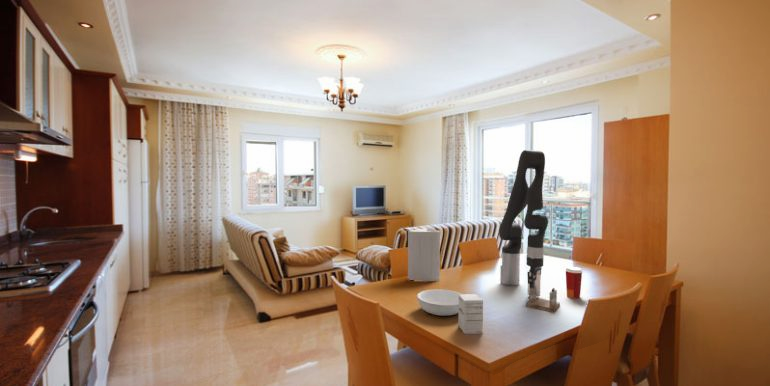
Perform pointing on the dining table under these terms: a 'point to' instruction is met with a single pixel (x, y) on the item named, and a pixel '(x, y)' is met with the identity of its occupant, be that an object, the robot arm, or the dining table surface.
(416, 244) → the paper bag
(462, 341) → the dining table surface
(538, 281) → the roll
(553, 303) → the holder
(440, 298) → the serving bowl
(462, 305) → the supplement box
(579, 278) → the paper cup
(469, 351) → the dining table surface
